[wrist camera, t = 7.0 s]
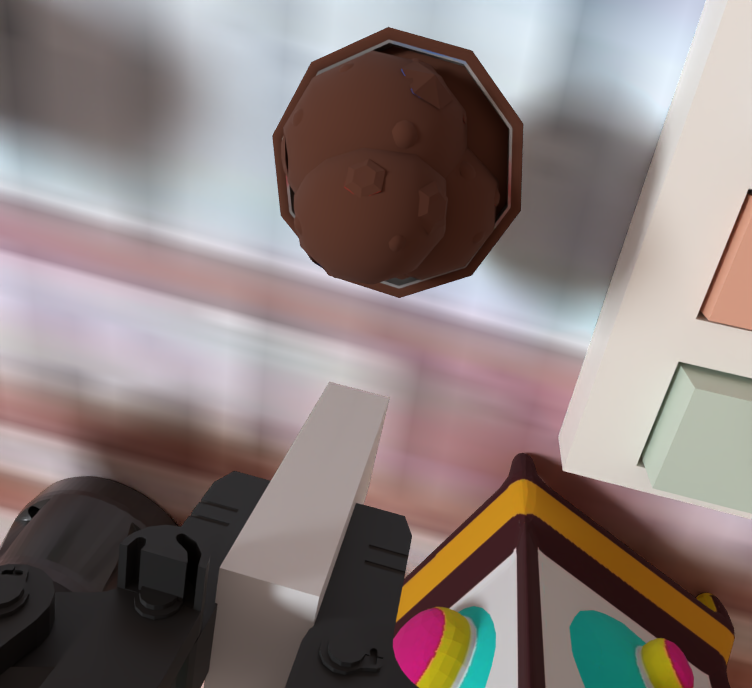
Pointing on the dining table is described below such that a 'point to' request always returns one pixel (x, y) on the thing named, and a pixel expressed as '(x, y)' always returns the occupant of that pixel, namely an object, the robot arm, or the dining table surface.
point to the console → (671, 262)
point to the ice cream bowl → (398, 163)
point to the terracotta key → (733, 275)
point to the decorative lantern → (552, 605)
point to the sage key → (703, 438)
